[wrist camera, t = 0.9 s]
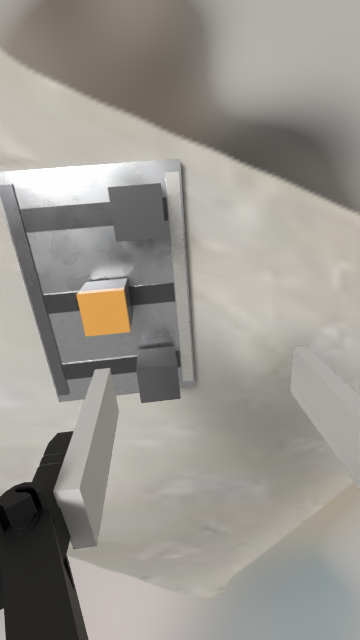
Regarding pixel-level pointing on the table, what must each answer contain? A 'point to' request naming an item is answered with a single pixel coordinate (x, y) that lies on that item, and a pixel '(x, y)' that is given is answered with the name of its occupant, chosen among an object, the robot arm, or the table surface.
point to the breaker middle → (105, 307)
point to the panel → (99, 269)
